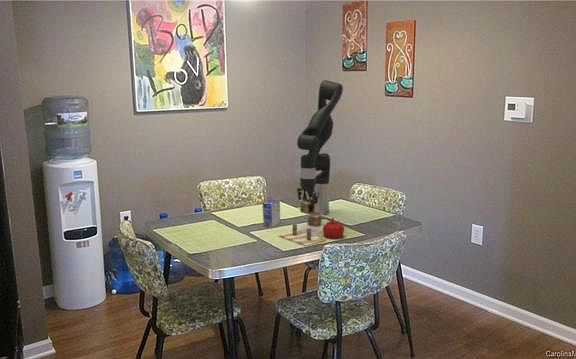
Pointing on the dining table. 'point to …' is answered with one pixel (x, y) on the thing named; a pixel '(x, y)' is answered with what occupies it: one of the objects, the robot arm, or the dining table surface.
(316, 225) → the sleeve
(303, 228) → the mat
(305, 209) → the sleeve
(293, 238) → the pin board
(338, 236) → the pomegranate
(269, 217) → the ink cartridge box
